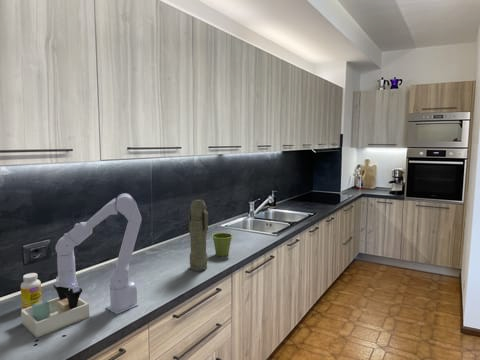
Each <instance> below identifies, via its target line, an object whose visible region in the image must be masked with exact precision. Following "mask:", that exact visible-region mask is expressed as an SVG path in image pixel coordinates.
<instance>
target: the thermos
mask: <svg viewBox="0 0 480 360" xmlns="http://www.w3.org/2000/svg"><path fill="white" fill-rule="evenodd" d="M206 207H207V206H206V203H205V200H203V199H196V198H195V199H193V200H191V203H190V208H189V210H188V228H189V236H190V253H189V269H190V270H191V271H193V272H203V271H206V270H207V269H208V252H207V235H208V230H209V212H208V211H207V209H206Z"/></svg>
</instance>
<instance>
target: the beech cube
mask: <svg viewBox="0 0 480 360" xmlns="http://www.w3.org/2000/svg"><path fill="white" fill-rule="evenodd" d="M57 303H58V314H60V313H63V312H65V311H68V310H71V309H70V308H69V303H68V299H67V298H66V299H63V300H60V301H57ZM77 307H78V303H77Z"/></svg>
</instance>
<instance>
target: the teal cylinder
mask: <svg viewBox="0 0 480 360" xmlns="http://www.w3.org/2000/svg"><path fill="white" fill-rule="evenodd" d="M47 301H48V300H44V301H43V300H42V302H38V303H35V304H34V305H33V306H32V310H33V318H34V319H35V320H36V321H37V322H38V321H41V320H44V319H46V318H49V317H50V310H49V302H47Z"/></svg>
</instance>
